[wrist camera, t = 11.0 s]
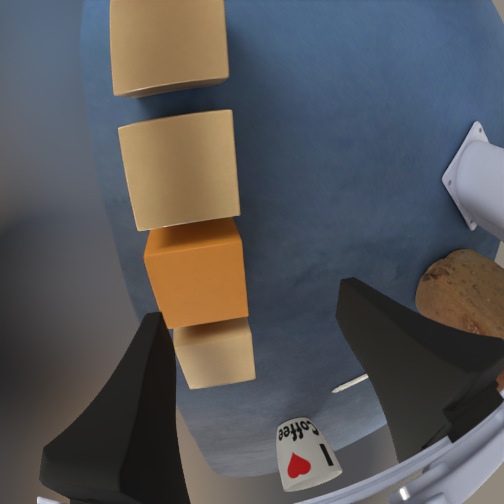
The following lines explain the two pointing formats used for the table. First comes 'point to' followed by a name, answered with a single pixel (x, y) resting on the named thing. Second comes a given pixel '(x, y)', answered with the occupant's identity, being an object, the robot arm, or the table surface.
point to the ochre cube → (197, 272)
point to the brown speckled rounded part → (465, 295)
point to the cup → (304, 455)
